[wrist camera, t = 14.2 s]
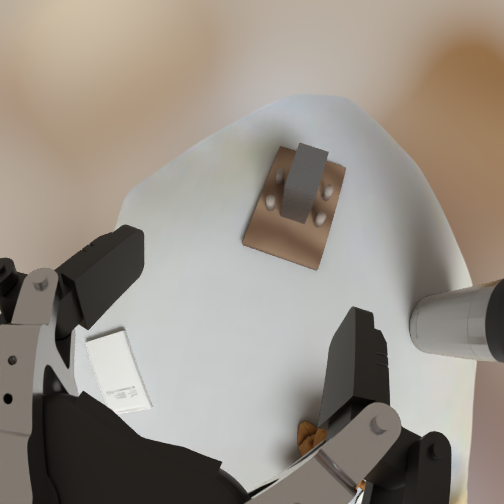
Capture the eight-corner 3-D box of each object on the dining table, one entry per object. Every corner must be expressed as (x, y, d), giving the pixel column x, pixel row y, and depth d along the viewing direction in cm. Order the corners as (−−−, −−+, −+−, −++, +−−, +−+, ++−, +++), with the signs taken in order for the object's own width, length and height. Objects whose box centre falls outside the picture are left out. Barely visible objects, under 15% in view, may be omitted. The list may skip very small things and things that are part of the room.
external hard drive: (127, 330, 38) (154, 405, 35) (89, 342, 38) (113, 413, 35) (122, 330, 37) (150, 408, 34) (83, 342, 36) (109, 415, 33)
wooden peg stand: (316, 270, 38) (322, 264, 34) (242, 245, 40) (240, 236, 36) (344, 171, 42) (350, 158, 38) (280, 150, 43) (281, 135, 39)
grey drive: (304, 224, 39) (316, 194, 29) (280, 216, 39) (284, 184, 30) (315, 187, 40) (328, 151, 30) (292, 180, 41) (299, 141, 31)
